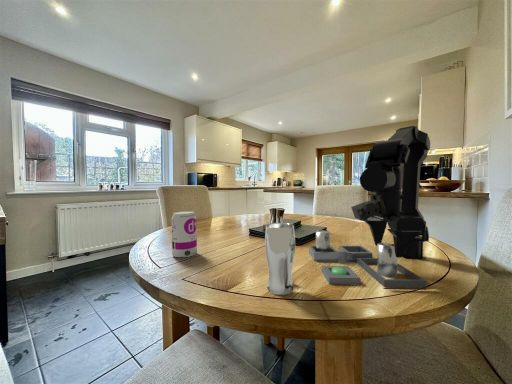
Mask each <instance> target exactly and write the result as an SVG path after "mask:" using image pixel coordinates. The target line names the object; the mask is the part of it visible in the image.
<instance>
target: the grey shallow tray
mask: <svg viewBox="0 0 512 384" xmlns="http://www.w3.org/2000/svg"><path fill="white" fill-rule="evenodd" d="M308 254H309V255H310V256H311V258H312V261H314V262H316V263H317V264H318V263H320V264H321V263H323V264H324V263H329V264H331V263H335V264H337V263H339V264H341V263H343V264H345V263H347V264H348V263H349V264H351V263H353V264H354V263H355V264H357V258H373V252H372V251H370V250H368V248H366V247H364V246H362V245H338V251H337V249H336V248H334V247H333V246H332V245H330V252H316V245H308Z"/></svg>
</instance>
